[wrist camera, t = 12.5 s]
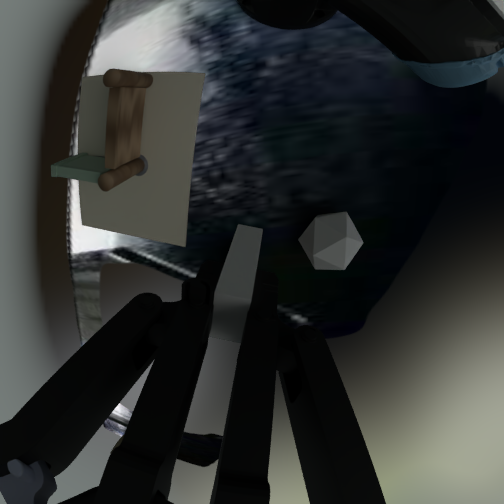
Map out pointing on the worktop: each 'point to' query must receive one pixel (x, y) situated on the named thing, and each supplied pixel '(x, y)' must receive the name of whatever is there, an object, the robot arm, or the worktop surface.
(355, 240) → the die
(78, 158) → the green rectangular block
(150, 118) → the card
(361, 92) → the worktop surface
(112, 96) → the base
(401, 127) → the worktop surface
